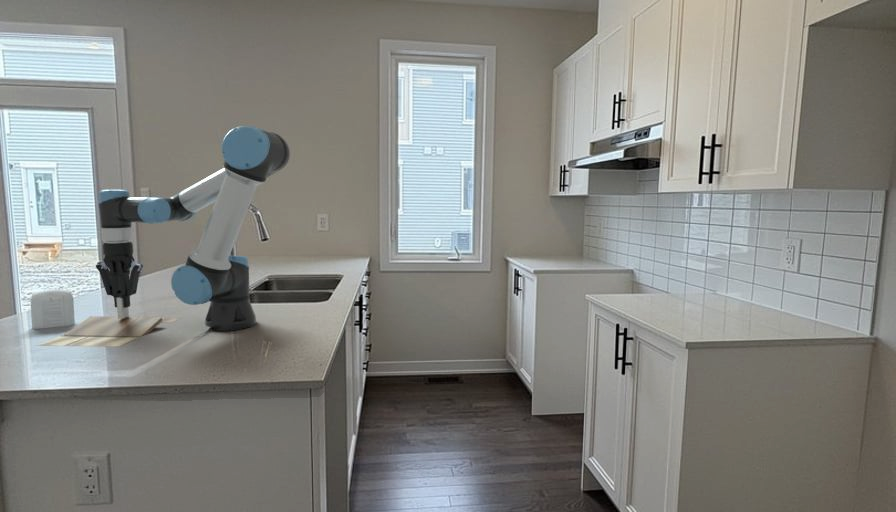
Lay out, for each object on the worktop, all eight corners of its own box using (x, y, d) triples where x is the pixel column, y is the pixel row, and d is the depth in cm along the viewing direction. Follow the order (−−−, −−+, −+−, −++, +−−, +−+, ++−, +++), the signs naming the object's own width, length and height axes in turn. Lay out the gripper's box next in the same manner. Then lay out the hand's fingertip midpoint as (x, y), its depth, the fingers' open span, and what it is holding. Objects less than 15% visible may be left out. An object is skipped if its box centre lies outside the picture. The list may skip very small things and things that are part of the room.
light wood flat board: (139, 340, 137) (139, 336, 137) (118, 350, 128) (118, 346, 128) (63, 339, 137) (62, 335, 137) (36, 349, 128) (35, 344, 128)
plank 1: (162, 320, 148) (161, 317, 147) (141, 339, 138) (140, 336, 137) (91, 319, 148) (90, 316, 147) (64, 338, 138) (63, 334, 137)
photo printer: (76, 325, 152) (73, 287, 150) (74, 328, 148) (71, 289, 147) (33, 329, 146) (30, 290, 145) (31, 333, 143) (27, 292, 141)
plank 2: (180, 321, 158) (180, 318, 158) (172, 326, 153) (172, 322, 153) (116, 322, 157) (116, 318, 156) (106, 326, 151) (106, 322, 151)
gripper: (147, 240, 147) (152, 314, 150) (104, 239, 147) (110, 313, 150) (131, 243, 139) (136, 321, 143) (86, 242, 139) (93, 320, 143)
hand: (123, 317), depth 146 cm, fingers closed
